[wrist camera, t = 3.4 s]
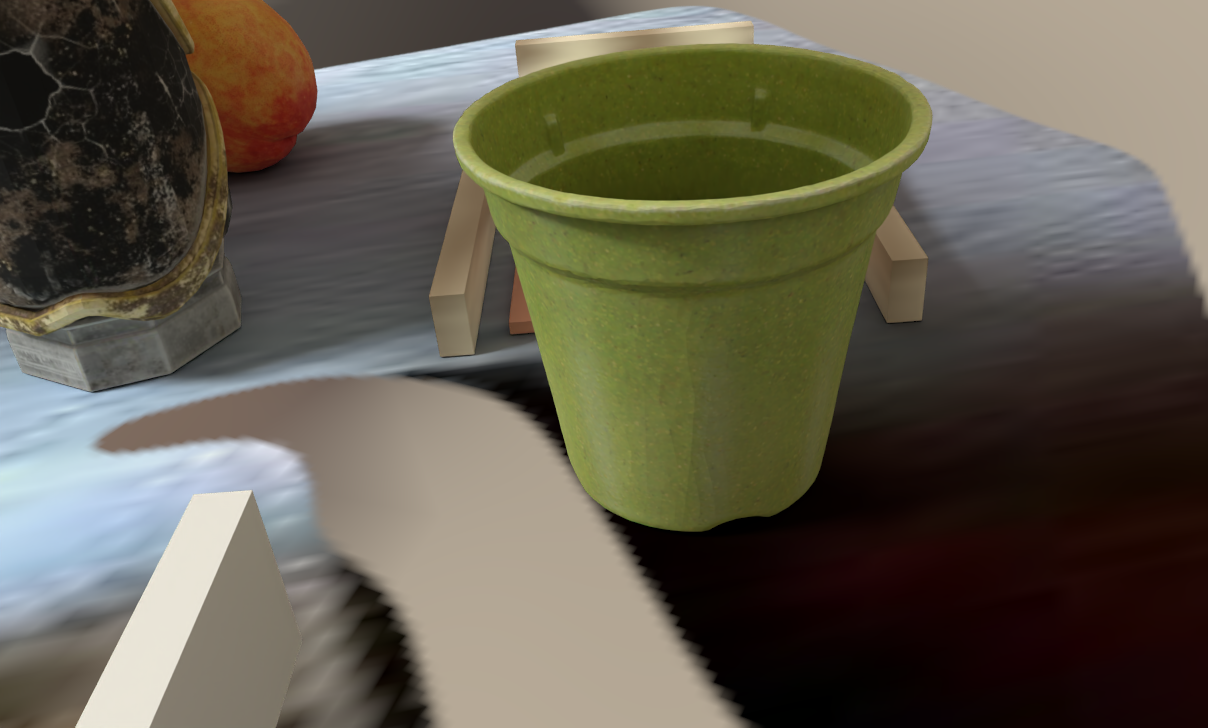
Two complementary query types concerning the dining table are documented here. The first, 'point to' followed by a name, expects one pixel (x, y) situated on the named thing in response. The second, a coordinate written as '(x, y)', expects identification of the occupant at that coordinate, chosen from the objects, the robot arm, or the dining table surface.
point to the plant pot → (694, 258)
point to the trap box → (467, 260)
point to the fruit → (251, 77)
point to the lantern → (109, 194)
